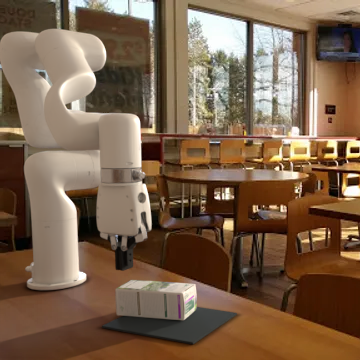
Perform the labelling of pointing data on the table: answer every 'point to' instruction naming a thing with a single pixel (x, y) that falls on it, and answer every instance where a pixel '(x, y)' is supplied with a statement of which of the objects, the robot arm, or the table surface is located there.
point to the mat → (174, 325)
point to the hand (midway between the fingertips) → (124, 268)
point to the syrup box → (156, 299)
